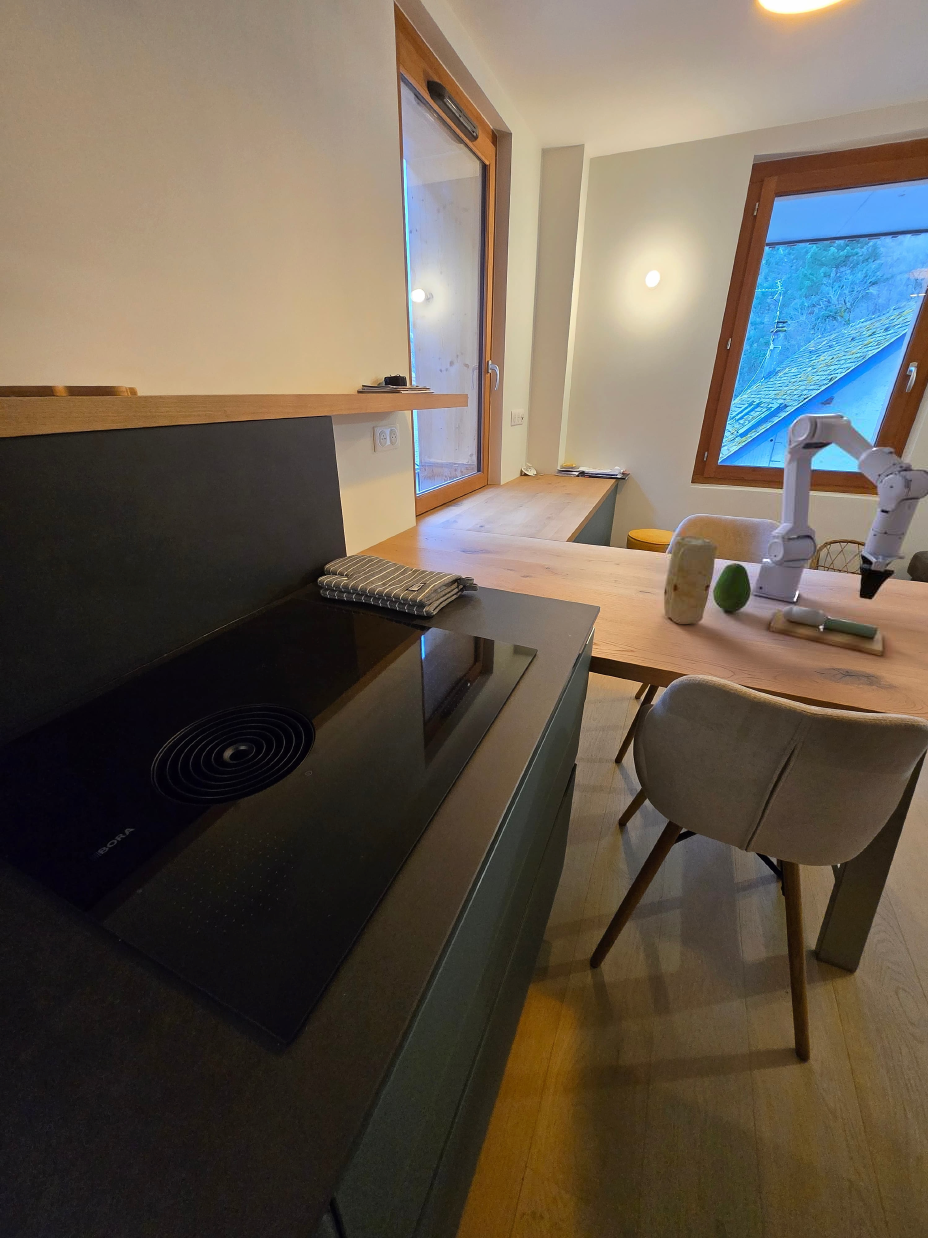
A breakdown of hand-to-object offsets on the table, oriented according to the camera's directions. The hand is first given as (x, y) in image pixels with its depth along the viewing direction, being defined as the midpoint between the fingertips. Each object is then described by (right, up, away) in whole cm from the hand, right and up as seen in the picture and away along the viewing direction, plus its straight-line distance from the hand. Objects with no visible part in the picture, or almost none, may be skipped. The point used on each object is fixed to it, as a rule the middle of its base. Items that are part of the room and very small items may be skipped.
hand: (865, 592), depth 107 cm
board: (-7, -9, +3) cm, 12 cm away
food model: (-36, -6, +11) cm, 38 cm away
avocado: (-22, -4, +15) cm, 27 cm away
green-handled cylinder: (-7, -8, +3) cm, 11 cm away
